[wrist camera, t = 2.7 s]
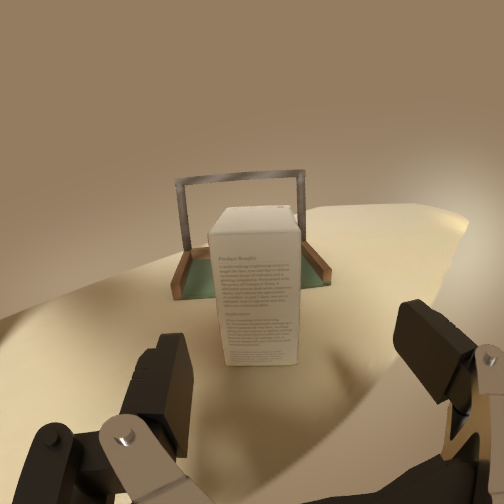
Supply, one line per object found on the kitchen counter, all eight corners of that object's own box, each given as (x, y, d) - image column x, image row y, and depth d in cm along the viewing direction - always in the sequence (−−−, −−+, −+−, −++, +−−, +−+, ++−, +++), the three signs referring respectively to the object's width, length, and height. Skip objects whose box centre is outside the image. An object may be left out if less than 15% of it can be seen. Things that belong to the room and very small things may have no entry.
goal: (172, 300, 30) (154, 187, 26) (186, 261, 41) (176, 178, 37) (331, 284, 31) (334, 175, 27) (304, 251, 43) (303, 169, 38)
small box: (235, 312, 27) (225, 206, 24) (292, 311, 27) (291, 203, 23) (223, 367, 19) (204, 231, 16) (298, 367, 19) (301, 227, 16)
